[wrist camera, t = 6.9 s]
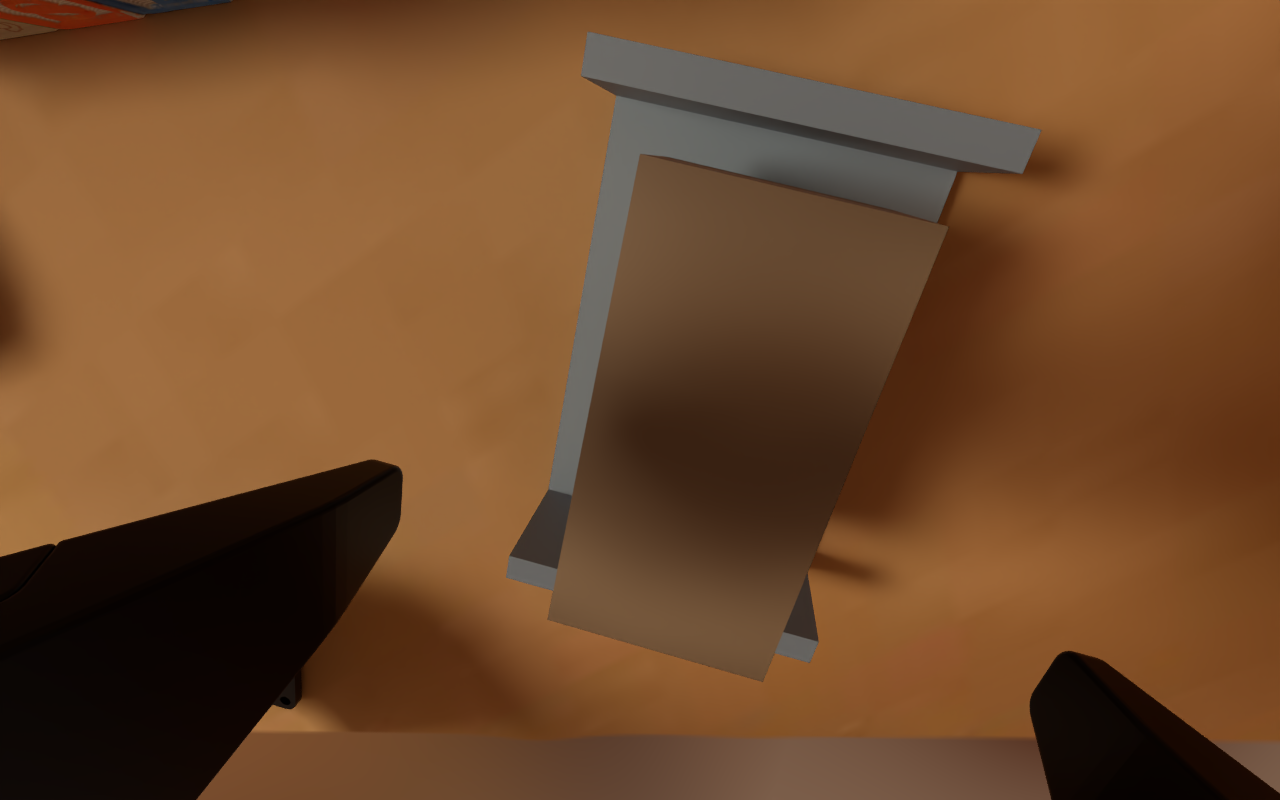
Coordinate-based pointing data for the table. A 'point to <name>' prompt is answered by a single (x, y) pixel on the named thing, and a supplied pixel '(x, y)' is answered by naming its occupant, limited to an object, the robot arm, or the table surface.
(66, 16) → the stack of blocks
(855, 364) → the brown rectangular block
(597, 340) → the cradle
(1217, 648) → the table surface
